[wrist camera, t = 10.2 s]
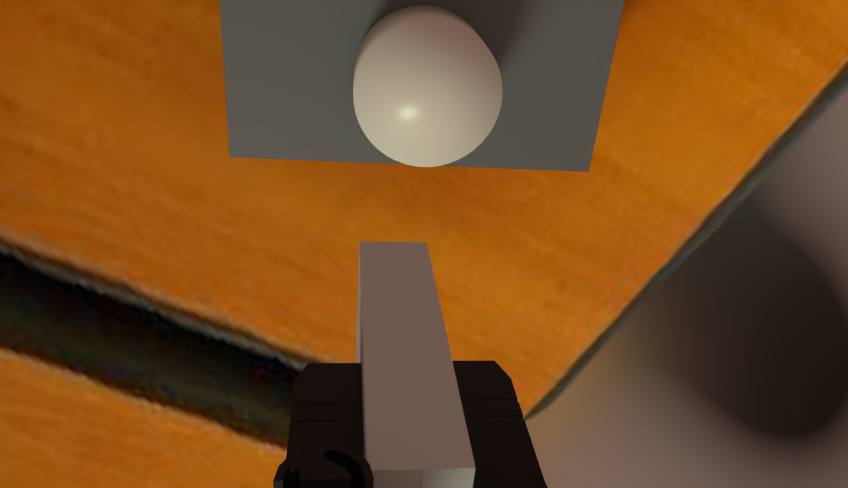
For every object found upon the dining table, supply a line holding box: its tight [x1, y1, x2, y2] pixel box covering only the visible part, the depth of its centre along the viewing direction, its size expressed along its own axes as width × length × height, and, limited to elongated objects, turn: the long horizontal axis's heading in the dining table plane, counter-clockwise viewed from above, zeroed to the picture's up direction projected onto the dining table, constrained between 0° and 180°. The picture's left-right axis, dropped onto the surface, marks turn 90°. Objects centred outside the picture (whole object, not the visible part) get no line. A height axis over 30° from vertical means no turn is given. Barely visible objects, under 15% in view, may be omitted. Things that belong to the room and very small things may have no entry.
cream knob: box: [353, 5, 503, 167], centre depth 28 cm, size 6×6×8 cm
